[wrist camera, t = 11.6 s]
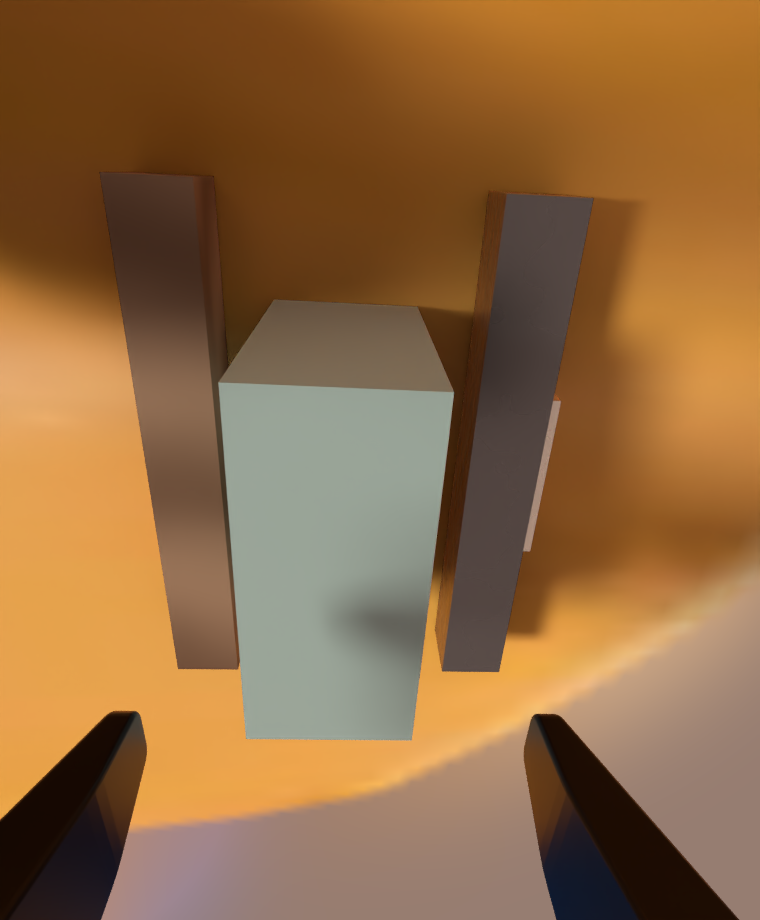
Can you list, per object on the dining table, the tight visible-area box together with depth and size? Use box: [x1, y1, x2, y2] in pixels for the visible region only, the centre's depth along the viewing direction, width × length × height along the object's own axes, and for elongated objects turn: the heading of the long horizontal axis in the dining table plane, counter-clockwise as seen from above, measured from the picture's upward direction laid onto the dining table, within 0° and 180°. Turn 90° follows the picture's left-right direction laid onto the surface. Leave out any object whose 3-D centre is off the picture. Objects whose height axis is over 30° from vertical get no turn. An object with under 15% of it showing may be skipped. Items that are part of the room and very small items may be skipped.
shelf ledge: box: [100, 172, 240, 669], centre depth 17 cm, size 15×2×2 cm, turn 177°
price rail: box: [435, 191, 594, 672], centre depth 17 cm, size 15×2×2 cm, turn 177°
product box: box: [218, 299, 454, 740], centre depth 15 cm, size 4×9×7 cm, turn 177°
